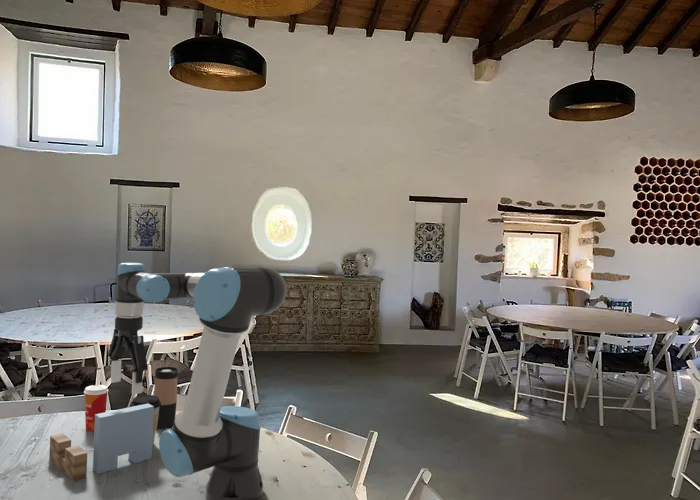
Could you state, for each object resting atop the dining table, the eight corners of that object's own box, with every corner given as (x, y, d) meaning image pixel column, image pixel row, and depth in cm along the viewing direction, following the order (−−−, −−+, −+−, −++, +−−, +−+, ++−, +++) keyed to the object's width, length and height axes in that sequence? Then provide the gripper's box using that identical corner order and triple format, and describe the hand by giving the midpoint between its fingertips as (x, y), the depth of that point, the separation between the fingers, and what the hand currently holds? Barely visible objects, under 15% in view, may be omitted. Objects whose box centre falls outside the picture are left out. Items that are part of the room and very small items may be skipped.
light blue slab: (151, 458, 167) (153, 406, 166) (97, 473, 155) (100, 417, 154) (145, 454, 169) (148, 403, 168) (92, 469, 157) (95, 414, 157)
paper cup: (82, 425, 189) (84, 385, 189) (106, 423, 193) (108, 383, 192) (82, 433, 182) (83, 391, 182) (107, 431, 185) (109, 390, 185)
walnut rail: (86, 477, 152) (87, 452, 152) (73, 481, 150) (74, 455, 150) (61, 456, 165) (62, 433, 164) (49, 459, 162) (50, 435, 162)
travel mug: (153, 422, 196) (155, 366, 195) (175, 421, 198) (178, 366, 197) (152, 430, 188) (154, 372, 188) (175, 429, 191) (178, 372, 190)
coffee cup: (148, 452, 171) (151, 405, 170) (121, 448, 173) (123, 401, 172) (165, 441, 180) (167, 396, 179) (139, 437, 182) (141, 392, 181)
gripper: (162, 321, 155) (158, 396, 156) (122, 308, 171) (119, 375, 172) (136, 324, 149) (133, 401, 150) (98, 310, 166) (95, 379, 167)
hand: (125, 387), depth 161 cm, fingers open, 13 cm apart
